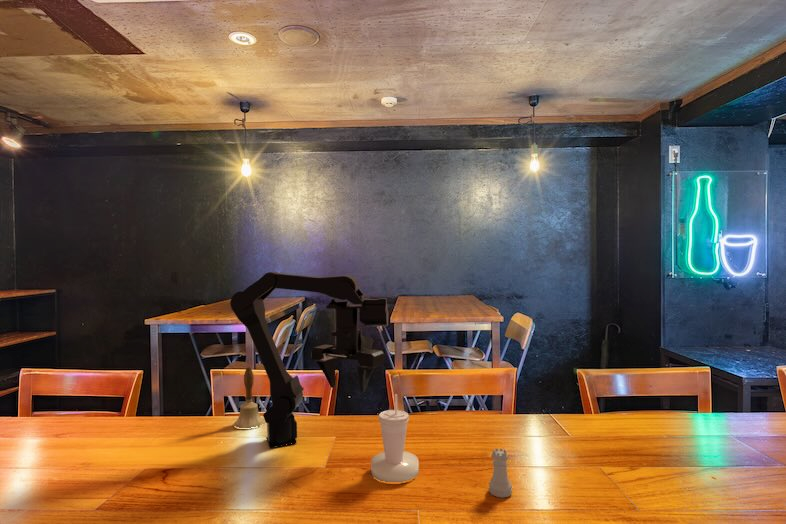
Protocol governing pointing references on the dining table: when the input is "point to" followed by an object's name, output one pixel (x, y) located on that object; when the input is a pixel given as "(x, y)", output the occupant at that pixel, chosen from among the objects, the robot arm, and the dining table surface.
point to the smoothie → (393, 433)
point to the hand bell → (249, 405)
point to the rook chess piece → (500, 475)
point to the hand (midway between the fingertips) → (347, 389)
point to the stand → (394, 468)
